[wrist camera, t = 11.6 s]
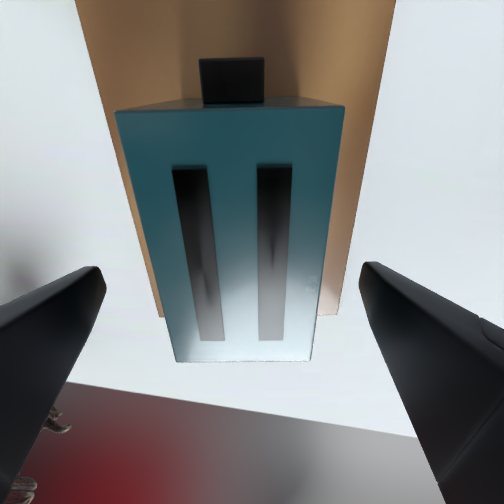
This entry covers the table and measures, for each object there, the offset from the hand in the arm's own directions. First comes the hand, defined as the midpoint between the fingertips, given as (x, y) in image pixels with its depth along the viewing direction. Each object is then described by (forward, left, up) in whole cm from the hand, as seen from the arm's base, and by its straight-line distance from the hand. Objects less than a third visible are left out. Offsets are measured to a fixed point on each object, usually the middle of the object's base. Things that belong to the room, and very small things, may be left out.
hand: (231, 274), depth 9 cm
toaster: (0, 0, -8) cm, 8 cm away
